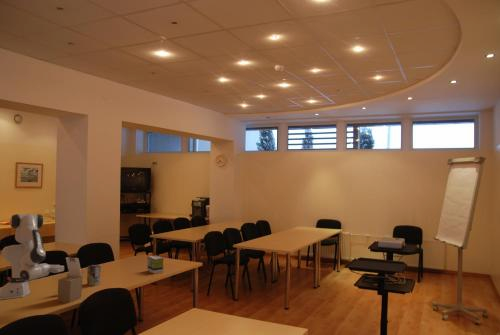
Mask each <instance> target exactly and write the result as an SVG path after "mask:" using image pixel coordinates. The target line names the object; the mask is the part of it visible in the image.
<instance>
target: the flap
mask: <svg viewBox="0 0 500 335" xmlns="http://www.w3.org/2000/svg"><path fill="white" fill-rule="evenodd" d="M65 260H66V266H67V269H68V270H67V271H68V272H69V275H70V276H79V277H82V278H83V274H82V273H81V271H82V269H81V263H80V260H79V258H78V257H68V256H67V257H65Z"/></svg>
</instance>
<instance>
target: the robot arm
mask: <svg viewBox="0 0 500 335" xmlns="http://www.w3.org/2000/svg"><path fill="white" fill-rule="evenodd" d="M44 223H45V219H44V216H43V215H42V214H35V213H34V214H33V213H23V214H22V213H21V214H18V213H17V214H13V215H11V217H10V219H9V225H10V227H11V229H15V235H14V239H15V241H16V242H17V243H19V244H12V245H8V246H5V247H4V248H3V249H2V250H1V256H2V258H3V259H4V260H6V261H7V262H8V263H9V264H10V266H11V267H10V268H11V277H10V276H8V277H7V278H6V279H7V280H8V282H7V283H6V284H4V286H2V287H1V288H0V300H9V299H11V300H12V299H17V298H18V299H20V298H23V297H26V296H28V295H30V294H31V292H30V288H29V286H30V285H29V282H30V281H33V280H37V279H38V278H40V279H41V278H44V277H47V276H49V274H50V273H51V274H52V273H53V274H54V273H55V274H56V273H61V272H64V271H65V265H60V264H50V263H49V264H48V263H46V262H45V263H41V262H43V261H45V259H46V256H47V254H46V251H45V247H44V244H43V242H44V241H43V238H42V234H41V232H40V230H39V229H40V228H42V227H43V226H44Z"/></svg>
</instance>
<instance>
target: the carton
mask: <svg viewBox="0 0 500 335" xmlns="http://www.w3.org/2000/svg"><path fill="white" fill-rule="evenodd" d="M81 287H82V288H83V276H82V277H77V276H68V277H67V276H65V277H61V278H58V281H57V302H60V303H61V302H62V303H69V304H70V303H73V302H75V301H77V300H80V299H81V298H82V291H81Z"/></svg>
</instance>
